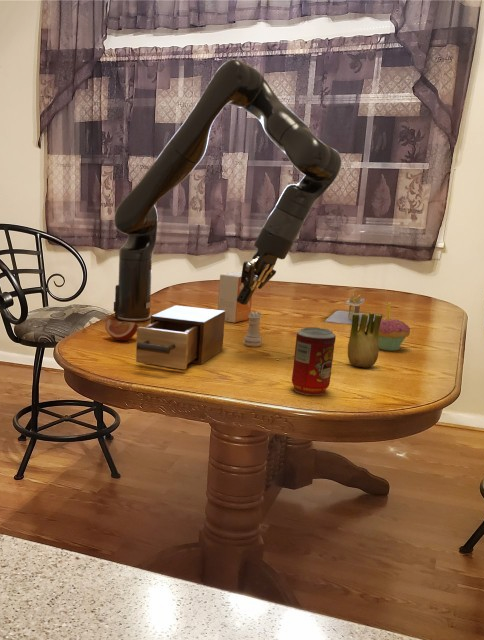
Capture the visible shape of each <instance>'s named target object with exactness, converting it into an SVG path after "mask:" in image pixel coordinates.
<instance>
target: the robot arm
mask: <svg viewBox="0 0 484 640" xmlns="http://www.w3.org/2000/svg"><path fill="white" fill-rule="evenodd" d="M227 105H230V106H233V107H235V108H240V109H242V110H244V111H246V112H247V113H249V114H251V115H253V116H254V118H256V119H257V120H258V121H259V122H260V123H261V125H262V128H263V130H264V132H265V134H266V135H267V137H268V138H269V139H270V140H271V141H272V142H273V144H275V146H277V147H278V148H279V150H281V151H282V152H283V153H284V154H285V155H286V157H287V159H288V160H289V162H290V163H291V164H292V166H293V167H294V168H295V169H296V170H297V171H298V172H299V173H301V174H303V175H304V176H303V177H302V178H301V180H300V181H299V182H298V183H297V184H295V183H293V184H288V185H286V187H285V188H284V190H283V191H282V194H281V195H280V197H279V199H278V201H276V202H277V203H276V204H275V207H274V208H273V210H272V211H271V212H270V214H269V215H268V217H267V219H266V221H265V222H264V224H263V226H262V227H261V230H260V232H259V233H258V236H257V237H256V239H255V241H254V243H253V246H254V247H255V248H256V249H257V251H256V252H255V253H254V254H253V256H252V258H251V260H250V261H247V260H244V262H243V264H242V268H241V269H242V270H241V273H242V276H241V283H243V286H244V287H243V289H242V290H241V292H240V294H239V296H238V298H237V302H239V303H241V304H243V305H247V303H248V302H249V300H250V298H251V296H252V297H253V294H254V293H255V292H257V290H261V289H262V288H263V287H264V286H266V284H268V282H270V280H271V279H272V278H273V277H274V276H275V275H276V273H277V270H275V268H274V267H275V266H276V264H277V261H278V259H279V260H285V259H286V258H287V256H288V254H289V252H290V250H291V248H292V247H293V245H294V243H295V241H296V240H297V238H298V236H299V234H300V233H301V230H302V228H303V225H304V223H305V221H306V219H307V218H308V216H309V214H310V212H311V210H312V208H313V207H314V205H315V203H316V202H317V200H319V199H320V198H321V197H322V196H323V195H324V193H325V192H326V191H327V190H328V188H329V187H330V186H331V185H332V184H333V183H334V181H335V180H336V179H337V177H338V176H339V173H340V171H341V168H342V156H341V154H340V152H338V150H337V149H334V148H333V147H331V146H330V145H328V144H326V143H324V142H323V141H321V140H320V139H319V138H318V137H316V136H315V135H314V133H313V131H312V130H311V128H310V127H309V126H308V125H307V123H305V122H304V121H303V120H302V119H301V118H300V117H299V116H298V115H297V114H296V113H294V112H293V110H291V109H290V108H289V107H288V106H287V105H285V103H284V102H283V101H281V100H280V98H279V97H278V96H277V95H276V93H275V92H274V91H273V89H272V88H271V86H270V85H269V83H268V82H267V80H266V79H265V78H264V75H262V73H261V72H260V71H259V70H258V69H257V68H255V67H253V66H251V65H250V64H247V63H246V62H243V61H241V60H239V59H236V58H233V59H229V60H227V61H225V62H224V63H223V64H222V65H220V67H219V68H218V69H217V70H216V72H215V73H214V75H213V76H212V77H211V79H210V81H209V83H208V84H207V86H206V87H205V89H204V91H203V92H202V95H201V96H200V97H199V99H198V101H197V102H196V104H195V106H194V107H193V109H192V110H191V111H190V113H189V114H188V116H187V117H186V118H185V119H184V121H183V123H182V125H181V126H180V127H179V129H177V131H176V132H175V133H174V135H173V136H172V137H171V139H170V140H169V141H168V142H167V144H166V145H165V146H164V148H163V149H162V151H161V152H160V154H159V155H158V157H157V158H156V160H155V161H154V162H153V163H152V165H151V166H150V167H149V169H148V170H147V171H146V173H145V174H144V175H143V177H142V178H141V180H140V181H139V182H138V183H137V184H136V185H135V187H134V188H133V189H132V190H131V191H130V192H129V194H127V195H126V196H125V198H124V199H123V200H122V201H121V202H120V203H119V205H118V206H117V207H116V210H115V212H114V217H113V218H114V219H113V222H114V226H115V228H116V229H117V231H119V232H120V233H121V234H125V235H127V238H126V240H125V242H124V243H123V245H122V246H121V247H120V248H119V250H118V251H119V252H118V282H117V283H118V284H116V285H115V291H114V294H115V295H114V296H115V298H114V302H113V312H114V319H117V320H120V321H127V322H134V323H136V322H145V321H149V320H151V305H152V302H151V297H152V296H151V294H152V293H151V292H152V271H153V270H152V269H153V253H154V250H155V248H156V245H157V244H156V243H157V234H158V217H159V216H158V210H157V208H156V206H155V205H156V204H157V203H158V201H160V200H161V198H163V197H164V196H165V195H166V194H168V193H169V192H170V191H172V190H174V189H175V188H176V187H177V186H178V185H180V184H181V183H182V182H183V181H184V180H185V179H187V178H188V177H189V176H190V174H191V173H192V172H193V171H194V170H195V168H196V167H197V166H198V164H199V163H200V162H201V161H202V159H203V157H204V156H205V154H206V151H207V148H208V143H209V139H210V132H211V129H212V126H213V124H214V121H215V120H216V118H217V117H218V116H219V115H220V113H221V112H222V110H223V109H224V108H225V107H226V106H227Z"/></svg>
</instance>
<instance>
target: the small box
mask: <svg viewBox="0 0 484 640" xmlns="http://www.w3.org/2000/svg"><path fill="white" fill-rule="evenodd" d="M241 276H242V271H241V272H240V271H234V272H226V273H223V274H220V275H219V286H218V297H217V299H218V300H217V310H223V311H225V322H229V323H239V322H243V321H247V320H250V319H249V317H248V316H249V315H250V312H252V303H253V295H252V296H251V298H250V300H249V302H248V303H247V305H243V304H241V303H239V302H237V298H238V296H239V294H240V292H241V290H242V289H243V287H244V286H243V283H241Z"/></svg>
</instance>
